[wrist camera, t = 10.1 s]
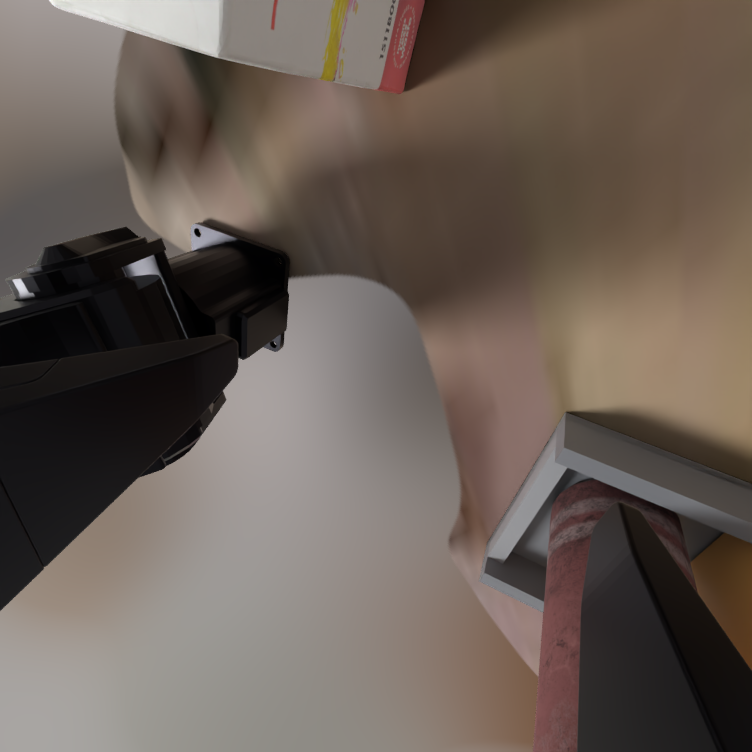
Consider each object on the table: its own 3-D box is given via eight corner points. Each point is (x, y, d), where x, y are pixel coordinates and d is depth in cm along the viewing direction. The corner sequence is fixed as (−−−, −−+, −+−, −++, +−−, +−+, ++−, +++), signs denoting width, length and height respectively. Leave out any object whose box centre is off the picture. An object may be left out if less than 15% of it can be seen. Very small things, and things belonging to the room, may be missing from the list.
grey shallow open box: (487, 543, 29) (472, 610, 25) (565, 412, 22) (562, 476, 18) (706, 646, 26) (729, 741, 22) (877, 532, 19) (956, 641, 15)
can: (689, 559, 23) (794, 979, 12) (562, 550, 26) (548, 875, 15) (680, 470, 20) (798, 886, 9) (542, 473, 24) (508, 785, 13)
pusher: (638, 607, 25) (655, 743, 20) (741, 517, 20) (802, 667, 15) (682, 628, 25) (712, 774, 19) (799, 541, 20) (885, 706, 14)
